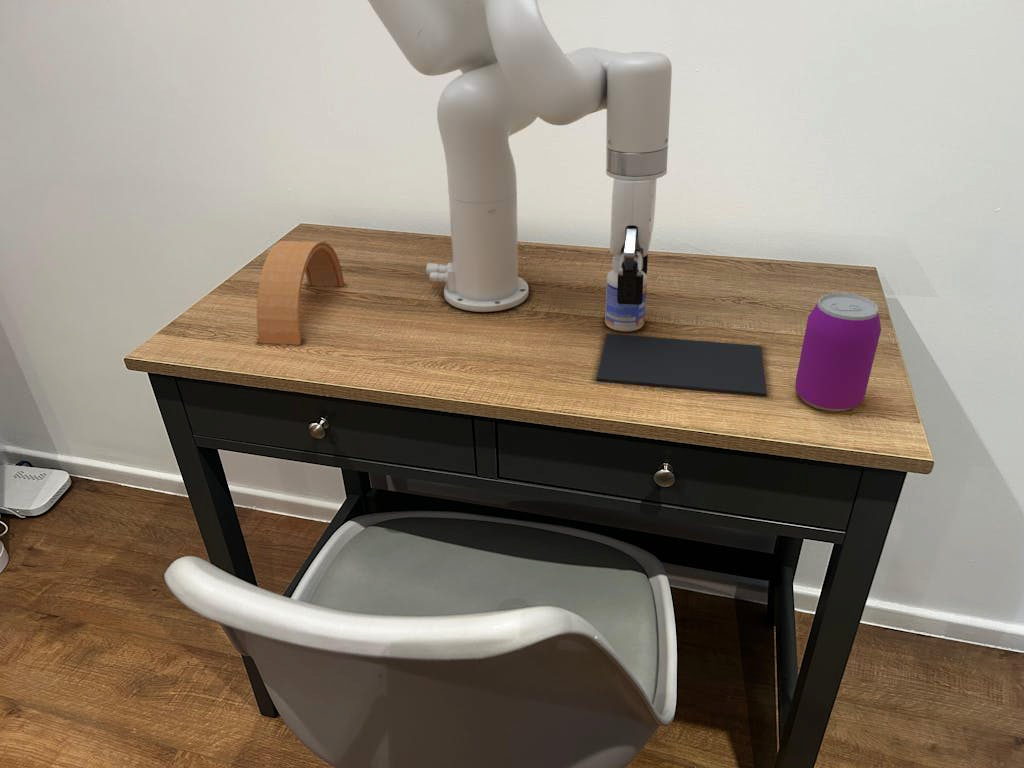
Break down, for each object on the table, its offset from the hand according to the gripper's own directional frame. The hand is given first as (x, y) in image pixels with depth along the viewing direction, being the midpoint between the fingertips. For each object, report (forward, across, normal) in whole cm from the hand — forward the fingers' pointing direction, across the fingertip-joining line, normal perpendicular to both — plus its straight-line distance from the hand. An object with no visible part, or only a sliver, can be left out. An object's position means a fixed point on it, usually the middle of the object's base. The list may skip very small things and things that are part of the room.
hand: (632, 288), depth 108 cm
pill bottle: (+6, 0, -1) cm, 6 cm away
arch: (+4, +4, -47) cm, 47 cm away
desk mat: (+6, +10, +7) cm, 13 cm away
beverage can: (+7, +15, +24) cm, 29 cm away
